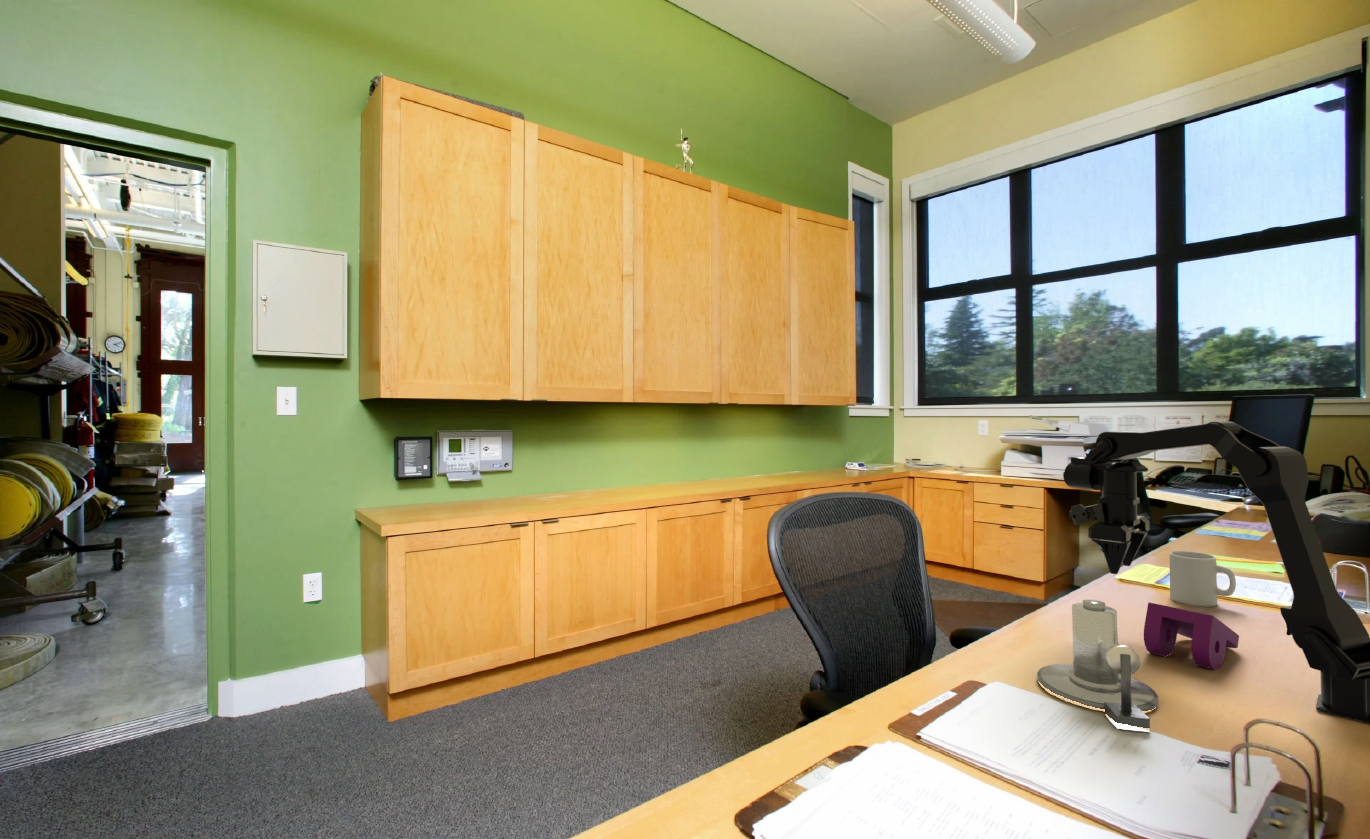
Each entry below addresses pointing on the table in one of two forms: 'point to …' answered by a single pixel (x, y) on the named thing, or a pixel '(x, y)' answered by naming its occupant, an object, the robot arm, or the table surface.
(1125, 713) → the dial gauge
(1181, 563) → the mug
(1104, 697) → the disc
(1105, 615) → the silver metal cylinder
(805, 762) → the table surface
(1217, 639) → the mounting bracket
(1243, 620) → the table surface
